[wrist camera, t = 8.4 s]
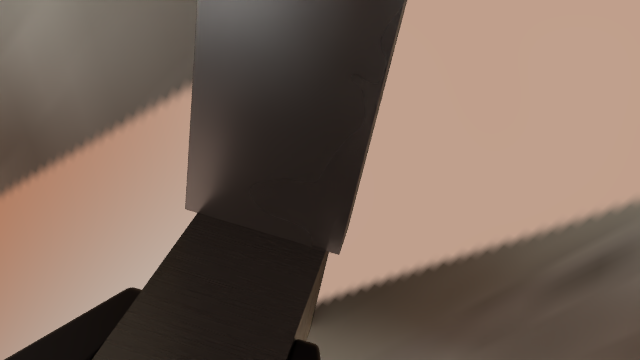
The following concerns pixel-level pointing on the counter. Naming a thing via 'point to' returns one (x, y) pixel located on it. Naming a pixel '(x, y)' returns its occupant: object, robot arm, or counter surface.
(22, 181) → the counter surface
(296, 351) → the robot arm
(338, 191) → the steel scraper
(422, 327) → the counter surface
